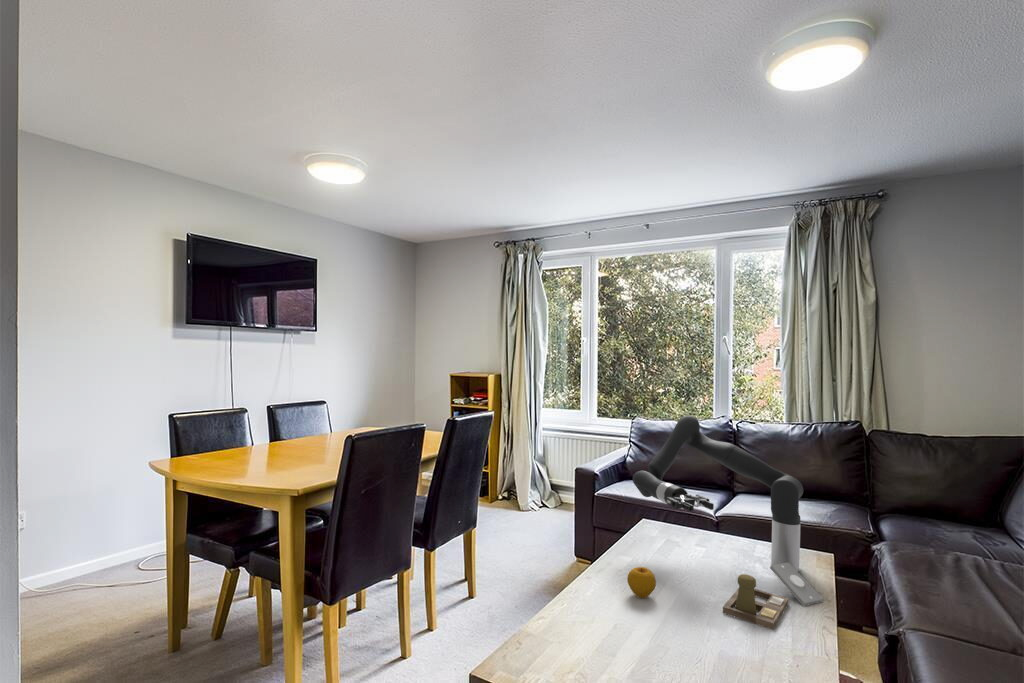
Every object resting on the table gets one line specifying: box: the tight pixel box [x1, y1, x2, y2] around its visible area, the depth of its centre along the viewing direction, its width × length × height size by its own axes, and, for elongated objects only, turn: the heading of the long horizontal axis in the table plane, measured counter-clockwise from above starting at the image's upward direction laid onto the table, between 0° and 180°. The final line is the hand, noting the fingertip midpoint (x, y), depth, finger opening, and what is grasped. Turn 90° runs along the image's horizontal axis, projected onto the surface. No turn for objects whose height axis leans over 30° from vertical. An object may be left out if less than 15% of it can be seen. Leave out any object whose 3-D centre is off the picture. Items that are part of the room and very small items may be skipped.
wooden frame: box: [722, 587, 789, 630], centre depth 159 cm, size 20×14×2 cm
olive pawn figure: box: [734, 573, 758, 616], centre depth 157 cm, size 6×6×11 cm
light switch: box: [769, 563, 824, 606], centre depth 170 cm, size 8×6×14 cm
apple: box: [626, 566, 657, 599], centre depth 165 cm, size 9×9×9 cm
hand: (702, 507), depth 174 cm, fingers open, 8 cm apart
